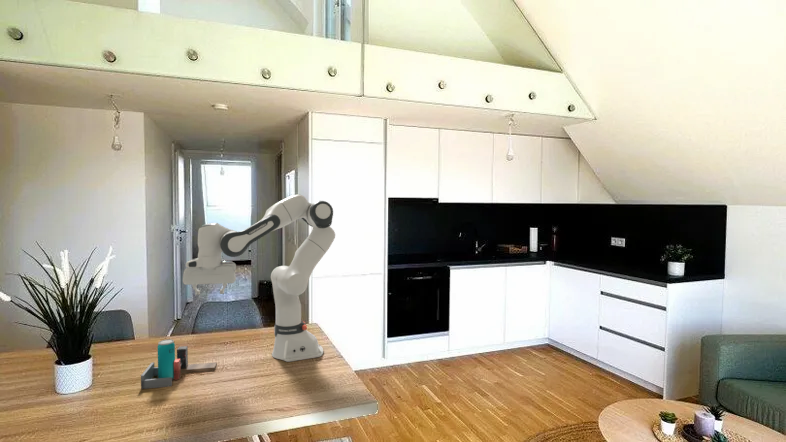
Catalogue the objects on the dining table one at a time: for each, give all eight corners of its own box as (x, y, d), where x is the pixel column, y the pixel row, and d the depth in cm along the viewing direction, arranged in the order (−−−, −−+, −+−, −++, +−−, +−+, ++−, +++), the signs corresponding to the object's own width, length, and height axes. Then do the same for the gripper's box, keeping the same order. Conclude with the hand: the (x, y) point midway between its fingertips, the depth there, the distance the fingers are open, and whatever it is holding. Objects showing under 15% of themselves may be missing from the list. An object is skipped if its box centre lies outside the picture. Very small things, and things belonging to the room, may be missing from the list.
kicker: (187, 367, 167) (187, 346, 167) (180, 379, 157) (180, 356, 156) (179, 368, 167) (178, 346, 166) (171, 380, 156) (171, 357, 155)
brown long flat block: (216, 365, 171) (216, 362, 171) (214, 370, 166) (214, 367, 166) (174, 368, 167) (174, 365, 167) (171, 373, 162) (171, 370, 162)
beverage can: (178, 377, 159) (177, 339, 159) (169, 383, 154) (168, 344, 153) (164, 376, 160) (164, 338, 159) (154, 382, 154) (153, 343, 153)
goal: (179, 372, 163) (179, 360, 163) (171, 386, 152) (171, 373, 152) (151, 374, 161) (151, 362, 161) (141, 389, 149) (140, 375, 149)
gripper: (236, 259, 177) (237, 291, 178) (185, 261, 173) (185, 293, 173) (235, 262, 171) (235, 294, 172) (181, 263, 166) (181, 297, 167)
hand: (210, 294), depth 173 cm, fingers open, 8 cm apart
